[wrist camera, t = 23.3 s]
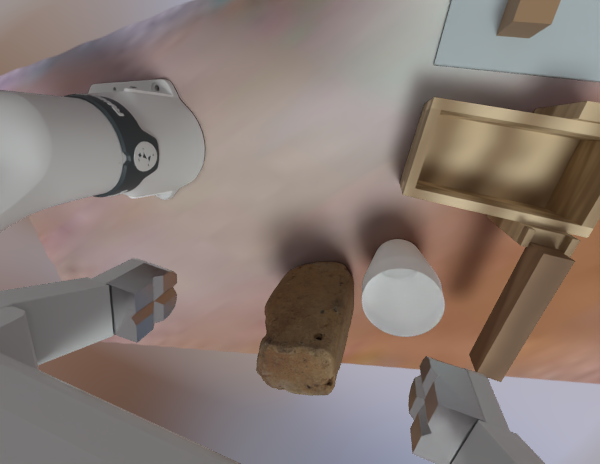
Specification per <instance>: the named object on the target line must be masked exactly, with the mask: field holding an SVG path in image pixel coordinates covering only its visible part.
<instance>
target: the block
mask: <svg viewBox="0 0 600 464" xmlns="http://www.w3.org/2000/svg"><path fill="white" fill-rule="evenodd" d="M353 309H354V281H353V277H352V275H351V274H350V273H349V272H348V270H347V268H346V266H344V265H343V264H341V263H337V262H327V261H321V262H314V263H312V264H304V265H301V266H298V267H296V268H295V269H293V270H290V271H289V272H288V273H287V274H286V275H285V276H284V277H283V279H282V280H281V281H280V283H279V284H278V286H277V287H276V288H275V290H274V291H273V293H272V294H271V296H270V298H269V299H268V301H267V303H266V306H265V315H266V320H265V324H266V330H267V334H266V336H265V337H264V338H263V339H262V341H261V343H260V348H259V353H258V358H257V368H256V370H257V373H258V374H259V375H260V376H261V377H262V379H263V381H265V382H266V384H267V385H269V386H270V387H272V388H277V389H280V390H282V389H283V390H287V391H288V392H291V393H295V394H303V395H304V394H305V395H328V394H329V393H331V392H332V390H333V388H334V386H335V380H336V376H337V373H338V370H339V368H340V365H341V361H342V357H343V354H344V350H345V346H346V341H347V337H348V331H349V328H350V325H351V319H352V315H353Z"/></svg>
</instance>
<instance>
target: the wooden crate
mask: <svg viewBox="0 0 600 464" xmlns="http://www.w3.org/2000/svg"><path fill="white" fill-rule="evenodd" d="M400 186H401V190H402V194H403V195H405V196H409V197H414V198H418V199H422V200H427V201H431V202H435V203H439V204H444V205H448V206H452V207H457V208H461V209H465V210H470V211H474V212H478V213H483V214H487V215H488V216H487V217H488V218H489V219H490V220H491V221H492V222H493V223H495V224H496V225H497V226H498V227H499V228H500V229H502V230H503V231H504V232H505V233H506V234H507V235H509V236H510V237H511V238H512V239H513V240H514V241H516V242H517V243H518V244H520V245H521V246H525V247H528V245H529V243H530V242H531V243H535V244H540V245H544V246H548V247H552V248H556V249H558V250H559V251H561V252H562V253H564V254H565V255H567V256H568V257H571V255H572V253H573V252H574V250H575V248H576V247H577V245H578V243H579V242H580V240H578V239H576V238H575V237H573V236H571V235H570V234H573V235H578V236H582V237H586V238H588V236H589V235H590V233H591V231H592V230H593V228H594V227H595V225H596V223H597V222H598V220H599V218H600V103H597V102H590V101H585V102H578V103H571V104H564V105H558V106H551V107H544V108H537V109H535V111H534V113H529V112H523V111H517V110H511V109H505V108H498V107H492V106H486V105H480V104H474V103H468V102H462V101H456V100H449V99H443V98H437V97H434V98H432V99H431V100H429V101H428V102H427V103H425V104H424V107H423V110H422V113H421V116H420V120H419V123H418V126H417V129H416V132H415V136H414V139H413V142H412V145H411V148H410V152H409V155H408V158H407V161H406V164H405V168H404V171H403V174H402V177H401V180H400ZM568 233H569V234H568Z"/></svg>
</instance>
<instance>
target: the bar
mask: <svg viewBox="0 0 600 464" xmlns="http://www.w3.org/2000/svg"><path fill="white" fill-rule="evenodd" d="M574 262H575V261H574V260H572V259H571V258H569V257H568V256H567V255H565V254H564V253H562V252H561V251H559V250H558V249H556V248H552V247H548V246H544V245H540V244H535V243H531V242H530V243H529V245H528V247H526V248H525V250H524V252H523V253H522V255H521V257H520V259H519V261H518V263H517V265H516V267H515V269H514V271H513V272H512V274H511V276H510V278H509V280H508V282H507V284H506V286H505V288H504V289H503V291H502V293H501V295H500V297H499V299H498V301H497V303H496V305H495V306H494V308H493V310H492V312H491V314H490V316H489V318H488V320H487V322H486V324H485V325H484V327H483V329H482V331H481V333H480V335H479V337H478V339H477V341H476V342H475V344H474V346H473V348H472V350H471V352H470V354H469V355H470V358H471V361H472V363H473V366H474V369H475V371H476V372H478V373H481V374H484V375H485V376H486V377H488V378H491V379H494V380H497V381H500V382H501V381H502V379H503V378H504V376H505V375H506V373H507V371H508V370H509V368H510V366H511V365H512V363H513V362H514V360H515V358H516V357H517V355H518V353H519V352H520V350H521V348H522V347H523V345H524V344H525V342H526V340H527V339H528V337H529V335H530V334H531V332H532V331H533V329H534V327H535V326H536V324H537V322H538V321H539V319H540V318H541V316H542V314H543V313H544V311H545V309H546V308H547V306H548V304H549V303H550V301H551V300H552V298H553V296H554V295H555V293H556V291H557V290H558V288H559V287H560V285H561V283H562V282H563V280H564V278H565V277H566V275H567V274H568V272H569V270H570V269H571V267H572V265H573V264H574Z"/></svg>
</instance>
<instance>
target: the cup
mask: <svg viewBox="0 0 600 464" xmlns="http://www.w3.org/2000/svg"><path fill="white" fill-rule="evenodd" d="M362 306H363V310H364V312H365V315H366V316H367V318H368V319H369V320H370V322H371V323H372V324H373V325H375V326H376V327H377V328H379V329H380V330H382V331H384V332H386V333H388V334H391V335H395V336H402V337H410V336H417V335H420V334H423V333H425V332H427V331H429V330H431V329H432V328H433V327H435V326H436V325H437V324H438V322H439V321H440V319H441V318H442V316H443V313H444V308H445V302H444V297H443V293H442V287H441V283H440V280H439V278H438V276H437V274H436V273H435V271H434V270H433V268H432V267H431V266H430V264H429V263H428V262H427V260H426V259H425V258H424V256H423V255H422V253H421V252H420V251H419V249H418V248H417V247H416V246H415V245H414V244H412V243H411V242H409V241H406V240H402V239H393V240H389V241H387V242H385V243H383V244H382V245H381V246H380V247H379V248H378V249H377V251H376V253H375V255H374V257H373V259H372V261H371V263H370V265H369V268H368V270H367V272H366V274H365V276H364V279H363V283H362Z"/></svg>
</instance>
